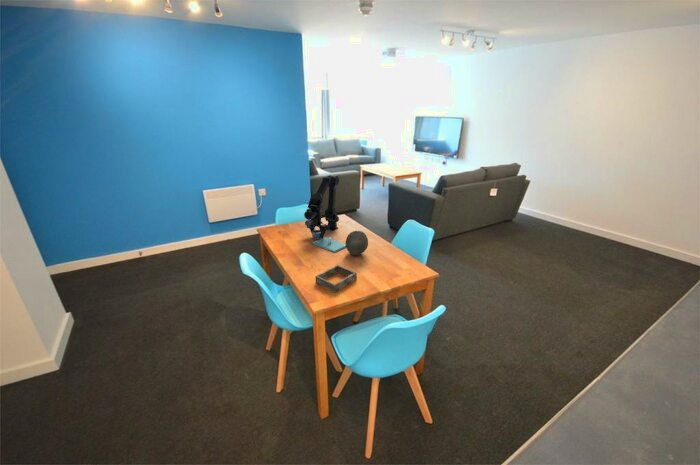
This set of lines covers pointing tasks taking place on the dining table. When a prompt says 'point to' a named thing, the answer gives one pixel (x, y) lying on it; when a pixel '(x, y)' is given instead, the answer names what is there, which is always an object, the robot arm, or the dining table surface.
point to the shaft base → (330, 244)
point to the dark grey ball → (356, 242)
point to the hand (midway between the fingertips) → (317, 236)
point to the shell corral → (339, 285)
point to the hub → (316, 235)
